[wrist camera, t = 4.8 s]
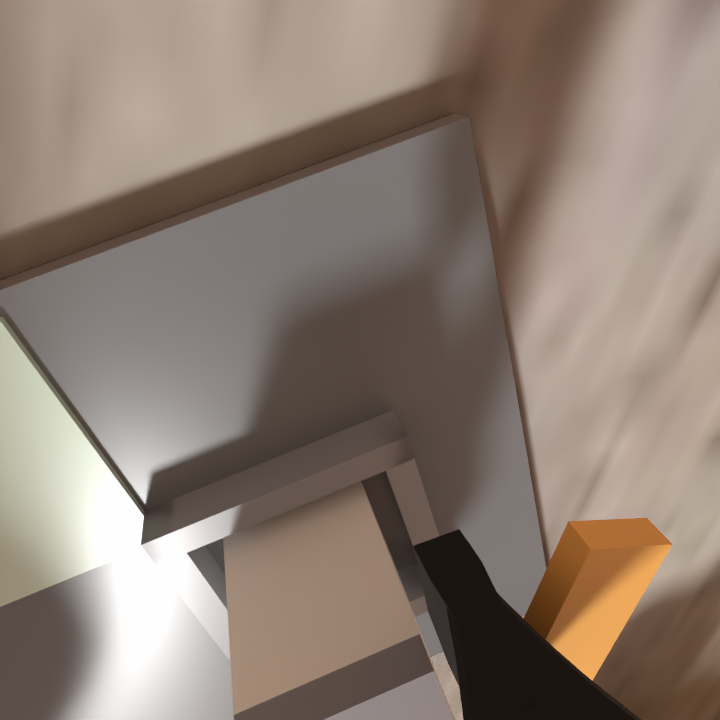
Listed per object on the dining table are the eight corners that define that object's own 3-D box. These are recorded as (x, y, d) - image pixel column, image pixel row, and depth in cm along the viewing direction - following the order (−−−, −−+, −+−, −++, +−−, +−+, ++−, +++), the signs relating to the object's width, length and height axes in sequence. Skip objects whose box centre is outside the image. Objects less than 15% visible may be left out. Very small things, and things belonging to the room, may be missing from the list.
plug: (274, 608, 18) (306, 834, 13) (222, 525, 16) (236, 758, 10) (392, 557, 18) (470, 760, 13) (356, 470, 16) (434, 671, 11)
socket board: (102, 778, 21) (68, 1045, 15) (-363, 413, 11) (-905, 770, 6) (541, 586, 22) (658, 768, 17) (454, 112, 13) (662, 165, 7)
